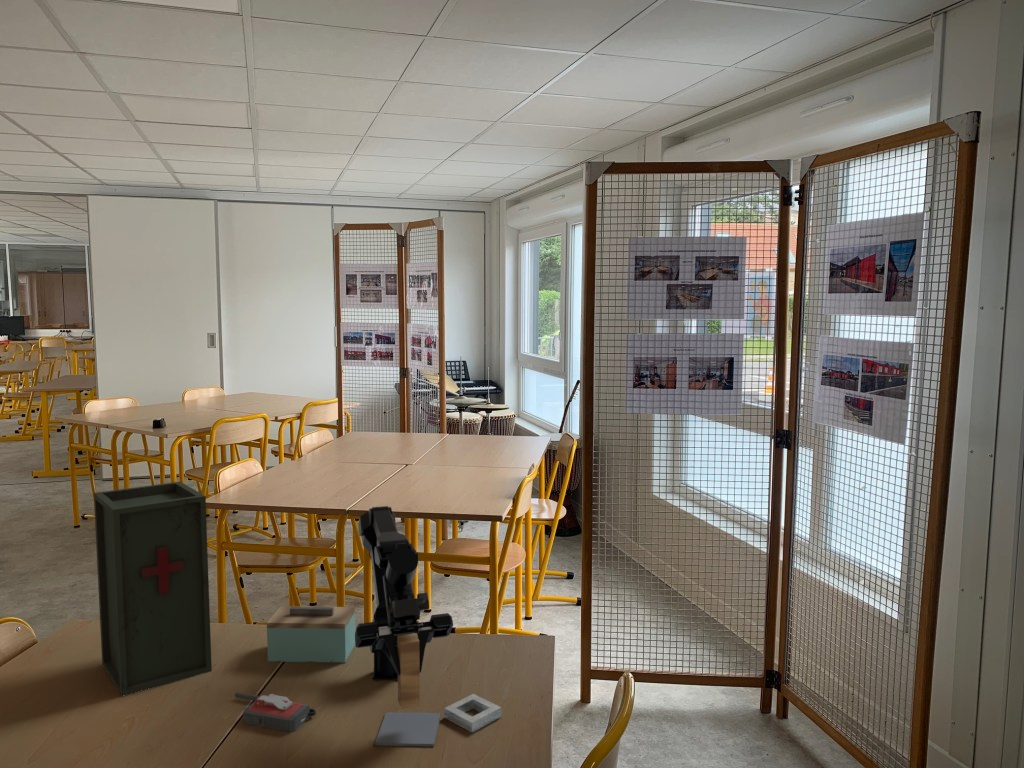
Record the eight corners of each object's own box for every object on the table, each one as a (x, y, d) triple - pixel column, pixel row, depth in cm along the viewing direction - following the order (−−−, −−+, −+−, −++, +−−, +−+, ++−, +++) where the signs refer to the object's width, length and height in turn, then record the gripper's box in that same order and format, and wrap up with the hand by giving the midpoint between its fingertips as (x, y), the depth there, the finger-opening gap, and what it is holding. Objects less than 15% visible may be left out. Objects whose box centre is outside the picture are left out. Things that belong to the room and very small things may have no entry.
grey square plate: (375, 745, 145) (375, 742, 144) (385, 714, 155) (385, 712, 155) (433, 746, 144) (433, 743, 144) (440, 715, 155) (440, 713, 155)
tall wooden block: (397, 699, 151) (397, 635, 149) (416, 696, 152) (415, 633, 150) (401, 709, 147) (400, 643, 146) (419, 706, 148) (419, 640, 147)
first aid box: (122, 696, 162) (113, 509, 158) (102, 665, 176) (93, 492, 172) (211, 671, 174) (205, 496, 170) (186, 643, 188) (180, 481, 184)
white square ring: (444, 717, 154) (444, 708, 154) (473, 702, 160) (473, 693, 160) (472, 732, 149) (472, 722, 149) (501, 716, 155) (501, 707, 155)
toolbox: (267, 661, 179) (266, 616, 177) (281, 642, 188) (280, 599, 187) (345, 662, 178) (344, 617, 177) (355, 643, 188) (354, 600, 187)
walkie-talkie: (322, 713, 157) (238, 698, 163) (321, 692, 156) (237, 677, 162) (297, 736, 148) (210, 719, 154) (297, 714, 148) (209, 698, 154)
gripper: (355, 583, 148) (363, 664, 139) (451, 574, 154) (464, 651, 144) (351, 608, 156) (358, 686, 147) (442, 597, 162) (454, 672, 153)
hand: (409, 673), depth 147 cm, fingers closed on tall wooden block, 4 cm apart
